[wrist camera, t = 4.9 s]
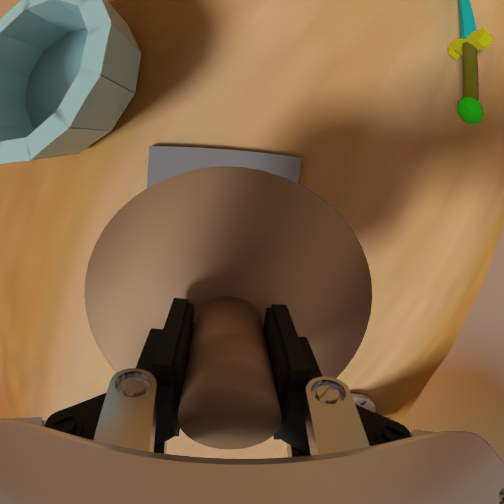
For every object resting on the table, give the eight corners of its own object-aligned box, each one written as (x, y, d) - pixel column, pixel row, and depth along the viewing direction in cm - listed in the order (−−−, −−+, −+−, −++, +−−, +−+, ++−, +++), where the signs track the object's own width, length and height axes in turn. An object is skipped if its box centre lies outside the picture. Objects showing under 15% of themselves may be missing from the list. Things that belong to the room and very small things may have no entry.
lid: (387, 187, 11) (490, 218, 6) (328, 405, 15) (358, 487, 9) (87, 162, 10) (-15, 176, 4) (114, 395, 14) (85, 478, 8)
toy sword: (486, 111, 15) (456, -60, 10) (439, 119, 21) (433, -44, 16) (502, 126, 15) (471, -49, 10) (457, 131, 21) (447, -33, 16)
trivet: (300, 157, 23) (301, 157, 22) (281, 291, 27) (282, 294, 26) (151, 146, 21) (149, 146, 21) (149, 283, 25) (148, 286, 25)
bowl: (154, 10, 17) (129, -35, 9) (133, 152, 21) (92, 156, 14) (34, 34, 15) (-13, 14, 8) (16, 158, 20) (-39, 170, 12)
